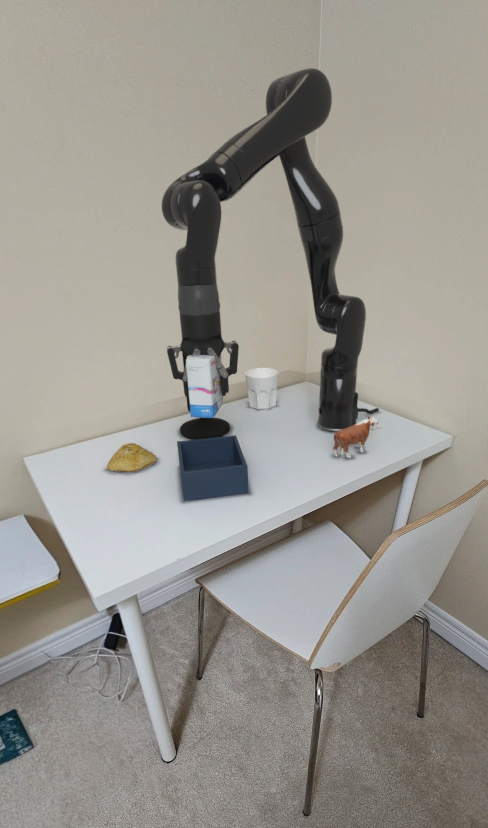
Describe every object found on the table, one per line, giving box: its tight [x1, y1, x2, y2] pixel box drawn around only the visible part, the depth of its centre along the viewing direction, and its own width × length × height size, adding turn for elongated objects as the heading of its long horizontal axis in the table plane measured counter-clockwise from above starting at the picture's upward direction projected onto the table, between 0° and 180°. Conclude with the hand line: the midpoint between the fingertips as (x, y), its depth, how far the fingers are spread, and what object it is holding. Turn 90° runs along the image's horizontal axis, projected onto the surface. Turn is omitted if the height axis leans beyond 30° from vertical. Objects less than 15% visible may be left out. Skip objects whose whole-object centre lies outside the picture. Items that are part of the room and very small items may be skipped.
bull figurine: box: [332, 415, 382, 459], centre depth 113 cm, size 4×13×8 cm, turn 121°
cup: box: [244, 367, 280, 410], centre depth 143 cm, size 10×10×10 cm
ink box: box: [186, 353, 224, 418], centre depth 95 cm, size 9×5×12 cm, turn 169°
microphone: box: [179, 351, 231, 440], centre depth 124 cm, size 14×14×25 cm
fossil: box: [106, 442, 158, 473], centre depth 113 cm, size 11×6×10 cm
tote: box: [176, 434, 250, 502], centre depth 104 cm, size 14×16×7 cm
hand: (206, 396), depth 96 cm, fingers closed on ink box, 6 cm apart
